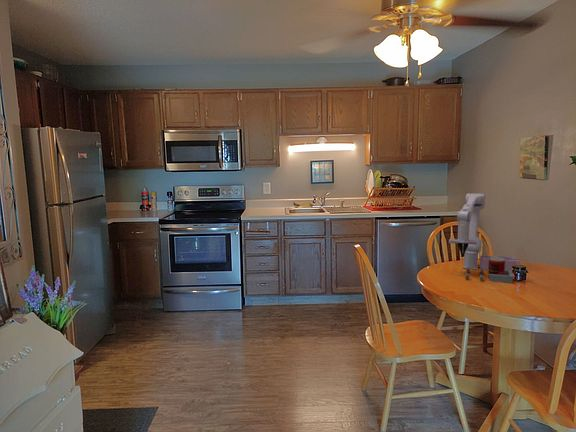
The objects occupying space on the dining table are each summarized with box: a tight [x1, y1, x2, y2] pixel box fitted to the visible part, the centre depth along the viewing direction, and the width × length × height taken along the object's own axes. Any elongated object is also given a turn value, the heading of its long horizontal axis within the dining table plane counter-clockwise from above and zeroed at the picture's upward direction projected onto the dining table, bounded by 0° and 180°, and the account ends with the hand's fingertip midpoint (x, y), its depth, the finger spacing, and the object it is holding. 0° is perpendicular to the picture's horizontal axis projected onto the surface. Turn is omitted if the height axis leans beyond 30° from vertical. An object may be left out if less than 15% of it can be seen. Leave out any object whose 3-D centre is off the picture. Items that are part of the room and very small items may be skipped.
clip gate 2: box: [479, 268, 485, 282], centre depth 218 cm, size 19×2×2 cm, turn 154°
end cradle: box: [488, 270, 514, 284], centre depth 214 cm, size 14×11×4 cm
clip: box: [479, 255, 521, 272], centre depth 232 cm, size 20×12×7 cm, turn 64°
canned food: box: [487, 257, 505, 279], centre depth 214 cm, size 8×8×11 cm
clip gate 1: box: [465, 267, 471, 281], centre depth 221 cm, size 19×2×2 cm, turn 154°
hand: (462, 256), depth 221 cm, fingers closed
